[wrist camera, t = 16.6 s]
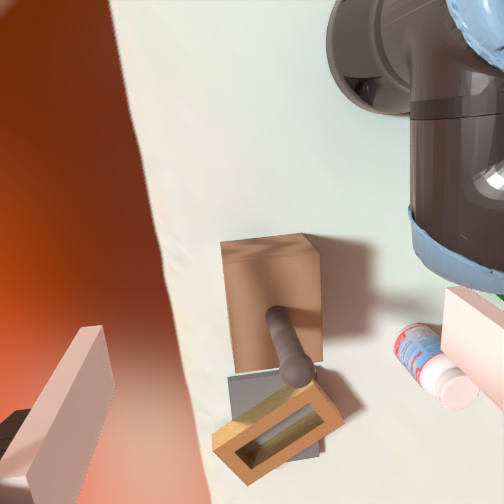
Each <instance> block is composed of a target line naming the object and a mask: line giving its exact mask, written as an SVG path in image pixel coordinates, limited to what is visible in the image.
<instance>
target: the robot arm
mask: <svg viewBox="0 0 504 504" xmlns="http://www.w3.org/2000/svg"><path fill="white" fill-rule="evenodd" d="M326 52H327V59H328V64H329V67H330V70H331V73H332V76H333V78H334V80H335V82H336V84H337V85H338V87H339V88H340V90H341V91H342V92H343V94H344V95H345V96H346V97H347V98H348V99H349V100H350V101H352V102H353V103H354V104H356V105H357V106H359V107H361V108H363V109H365V110H367V111H370V112H374V113H379V114H401V113H407V112H410V205H409V207H408V215H409V219H410V221H411V227H412V242H413V248H414V251H415V253H416V255H417V256H418V257H419V258H420V259H421V261H422V263H423V264H424V265H425V266H426V267H427V268H428V269H429V270H431V271H432V272H434V273H435V274H437V275H438V276H440V277H442V278H444V279H446V280H448V281H451V282H453V283H456V284H458V285H461V286H458V287H448V288H446V293H445V304H444V315H443V326H442V337H441V350H442V351H443V352H444V353H445V354H446V355H447V356H448V357H449V358H450V359H451V360H452V361H453V362H454V363H455V364H456V365H457V366H458V367H459V368H460V369H461V370H462V371H463V372H464V373H465V374H466V375H467V376H468V377H469V378H470V379H471V380H472V381H473V382H474V383H475V384H476V385H477V386H478V387H479V388H480V389H481V390H482V391H483V392H484V393H485V394H486V395H487V396H488V397H489V398H490V399H491V400H492V401H493V402H494V403H495V404H496V405H497V406H498V407H499V408H500V409H501V410H502V411H503V412H504V311H502V310H501V309H499V308H498V307H496V306H495V305H493V304H492V303H490V302H489V301H487V300H486V299H484V298H483V297H481V296H480V295H478V294H477V293H475V292H474V291H472V290H470V289H469V288H471V289H474V290H479V291H483V292H488V293H493V294H502V295H504V0H337V1H336V3H335V5H334V7H333V10H332V12H331V15H330V19H329V23H328V27H327V35H326ZM115 389H116V388H115V383H114V379H113V374H112V369H111V364H110V360H109V355H108V350H107V345H106V341H105V336H104V331H103V326H102V325H101V326H91V327H82V328H80V330H79V332H78V334H77V335H76V337H75V338H74V340H73V342H72V343H71V345H70V346H69V348H68V350H67V352H66V353H65V355H64V356H63V358H62V360H61V361H60V363H59V365H58V367H57V368H56V369H55V371H54V373H53V374H52V376H51V378H50V380H49V381H48V383H47V384H46V386H45V388H44V389H43V391H42V393H41V394H40V396H39V398H38V399H37V401H36V403H35V404H34V406H33V407H32V409H25V410H17V411H15V412H13V413H12V414H11V415H10V416H9V417H8V418H6V419H5V420H4V421H3V422H2V423H1V424H0V504H76V502H77V500H78V497H79V494H80V491H81V488H82V485H83V482H84V479H85V476H86V473H87V471H88V468H89V465H90V462H91V459H92V456H93V453H94V450H95V447H96V444H97V441H98V438H99V436H100V433H101V430H102V427H103V424H104V421H105V418H106V415H107V412H108V409H109V406H110V403H111V401H112V398H113V394H114V392H115Z"/></svg>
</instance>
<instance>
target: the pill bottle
mask: <svg viewBox="0 0 504 504" xmlns="http://www.w3.org/2000/svg"><path fill="white" fill-rule="evenodd" d="M393 351H394V354H395V355H396V357H397V358H398V359H399V361H400V362H401V363H402V364H403V365H404V367H405V368H406V369H407V370H408V372H409V373H410V374H411V375H412V376H413V378H414V379H415V380H416V381H417V382H418V384H419V385H420V386H421V387H422V388H423V390H424V391H425V392H426V393H428V394H429V395H431V396H433V397H435V398H439V400H440V401H442V403H443V404H444V405H445V406H446V407H448V408H450V409H454V410H458V409H463V408H466V407H468V406H469V405H471V404H472V403H473V402H474V401H475V400H476V399H477V397H478V395H479V392H480V388H479V387H478V386H477V385H476V384H475V383H474V382H473V381H472V380H471V379H470V378H469V377H468V376H467V375H466V374H465V373H464V372H463V371H462V370H461V369H460V368H459V367H458V366H457V365H456V364H455V363H454V362H453V361H452V360H451V359H450V358H449V357H448V356H447V355H446V354H445V353H444V352H443V351H442V350H441V337H439V336H438V335H437V334H436V333H435V332H434V331H433V330H432V329H431V328H429V327H428V326H426V325H423V324H413V325H410V326H407V327H405V328H404V329H402V330H401V331H400V332H399V333H398V334H397V335H396V337H395V339H394V342H393Z"/></svg>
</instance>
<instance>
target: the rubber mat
mask: <svg viewBox="0 0 504 504" xmlns="http://www.w3.org/2000/svg"><path fill="white" fill-rule="evenodd" d="M314 366H315V365H314ZM227 378H228V387H229V395H230V404H231V412H232V421H233V420H234V419H236V418H237V417H239V416H240V415H242V414H243V413H245V412H246V411H248V410H249V409H251V408H252V407H254V406H255V405H257V404H258V403H260V402H261V401H263V400H264V399H266V398H267V397H269V396H270V395H272V394H273V393H275V392H276V391H278V390H279V389H281V388H282V387H284V386H285V385H287V384H286V383H285V382H284V381H283V380H282V378H281V376H280V372H279V370H276V371H269V372H262V373H255V374H248V375H241V376H234V377H227ZM314 379H315V380H316V382H317V370H316V367H315V375H314ZM313 410H314V408H313V407H312V406H311V405H310V404H309V403H308V404H306V405H305V406H303V407H302V408H300V409H299V410H297V411H296V412H294V413H293V414H291V415H290V416H288V417H287V418H285V419H284V420H282V421H280V422H279V423H277V424H276V425H274V426H273V427H271V428H270V429H268V430H267V431H265V432H264V433H262V434H261V435H259V436H258V437H256V438H255V439H253V440H252V441H250V442H249V443H247V444H246V445H244V446H243V447H244V448H245V450H246V451H247V452H248V453H249V452H251V451H252V450H254V449H255V448H257V447H258V446H260V445H261V444H263V443H264V442H266V441H267V440H269V439H270V438H272V437H274V436H275V435H277V434H278V433H280V432H281V431H283V430H284V429H286V428H287V427H289V426H290V425H292V424H293V423H295V422H296V421H298V420H299V419H301V418H302V417H304V416H306V415H307V414H309V413H310V412H312V411H313ZM314 457H319V440H318V441H317V442H315V443H314V444H312V445H310V446H309V447H307V448H306V449H304V450H303V451H301V452H300V453H298V454H297V455H295V456H293V457H292V458H290V459H289V460H287V461H286V462H289V461H296V460H302V459H308V458H314Z"/></svg>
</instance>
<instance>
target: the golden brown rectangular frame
mask: <svg viewBox="0 0 504 504" xmlns="http://www.w3.org/2000/svg"><path fill="white" fill-rule="evenodd" d="M308 403H309V404H310V405H311V406H312V407H313V408H314V410H313V411H312V412H310V413H309V414H307V415H306V416H304V417H302V418H301V419H299V420H298V421H296V422H295V423H293V424H292V425H290V426H289V427H287V428H286V429H284V430H283V431H281V432H280V433H278V434H277V435H275V436H274V437H272V438H270V439H269V440H267V441H266V442H264V443H263V444H261V445H260V446H258V447H257V448H255V449H254V450H252V451H251V452H249V453H248V452H247V451H246V450H245V448H244V447H243V446H244V445H246V444H247V443H249V442H250V441H252V440H253V439H255V438H256V437H258V436H259V435H261V434H262V433H264V432H265V431H267V430H268V429H270V428H271V427H273V426H274V425H276V424H277V423H279V422H280V421H282V420H284V419H285V418H287V417H288V416H290V415H291V414H293V413H294V412H296V411H297V410H299V409H300V408H302V407H303V406H305V405H306V404H308ZM343 424H344V421H343V419H342V417H341V415H340V412H339V410H338V408H337V407H336V406H335V404H334V403H333V402H332V401H331V399H330V398H329V397H328V396H327V394H326V393H325V392H324V390H323V389H322V388H321V387H320V385H319V384H318V383H317V382H316V380H315V379H314V378H313V380H312V381H311V382H310V384H308V385H307V386H305V387H303V388H292V387H290V386H288V385H285V386H284V387H282V388H281V389H279V390H278V391H276V392H275V393H273V394H272V395H270V396H269V397H267V398H266V399H264V400H263V401H261V402H260V403H258V404H257V405H255V406H254V407H252V408H251V409H249V410H248V411H246V412H245V413H243V414H242V415H240V416H239V417H237V418H236V419H234V420H233V421H231V422H230V423H228V424H227V425H225V426H224V427H222V428H221V429H219V430H218V431H216V432H215V433H213V434H212V448H213V452H214V453H215V454H216V455H217V456H218V457H219V458H220V459H221V460H222V461H223V462H224V463H225V464H226V465H227V466H228V467H229V468H230V469H231V470H232V471H233V472H234V473H235V474H236V475H237V476H238V477H239V478H240V479H241V480H242V481H243V482H244V483H245V484H246V485H247V486H249V485H250V484H252V483H253V482H255V481H256V480H258V479H259V478H261V477H263V476H264V475H266V474H267V473H269V472H270V471H272V470H273V469H275V468H276V467H278V466H280V465H281V464H283V463H284V462H286V461H287V460H289V459H290V458H292V457H293V456H295V455H297V454H298V453H300V452H301V451H303V450H304V449H306V448H307V447H309V446H310V445H312V444H314V443H315V442H317V441H318V440H320V439H321V438H323V437H324V436H326V435H327V434H329V433H331V432H332V431H334V430H335V429H337V428H338V427H340V426H341V425H343Z"/></svg>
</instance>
